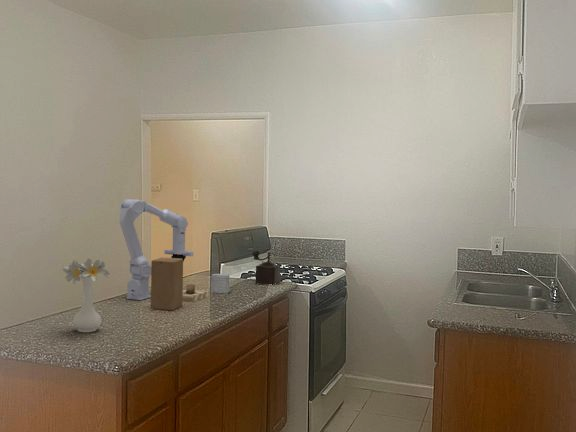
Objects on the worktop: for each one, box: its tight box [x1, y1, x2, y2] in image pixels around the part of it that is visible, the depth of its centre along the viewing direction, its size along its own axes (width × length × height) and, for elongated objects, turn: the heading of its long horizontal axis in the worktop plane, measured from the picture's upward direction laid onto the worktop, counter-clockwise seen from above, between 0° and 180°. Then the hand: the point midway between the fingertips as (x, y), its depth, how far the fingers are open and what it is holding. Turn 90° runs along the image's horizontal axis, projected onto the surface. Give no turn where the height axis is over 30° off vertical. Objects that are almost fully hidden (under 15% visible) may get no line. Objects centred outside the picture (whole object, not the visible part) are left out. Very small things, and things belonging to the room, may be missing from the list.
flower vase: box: [62, 257, 110, 333], centre depth 195 cm, size 13×18×25 cm
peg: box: [185, 284, 196, 294], centre depth 254 cm, size 4×4×6 cm
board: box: [182, 288, 210, 303], centre depth 256 cm, size 14×12×2 cm
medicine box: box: [210, 273, 230, 294], centre depth 270 cm, size 8×4×9 cm, turn 84°
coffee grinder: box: [252, 249, 281, 286], centre depth 297 cm, size 16×11×18 cm
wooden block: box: [150, 257, 184, 311], centre depth 235 cm, size 10×10×20 cm
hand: (178, 270), depth 267 cm, fingers closed
